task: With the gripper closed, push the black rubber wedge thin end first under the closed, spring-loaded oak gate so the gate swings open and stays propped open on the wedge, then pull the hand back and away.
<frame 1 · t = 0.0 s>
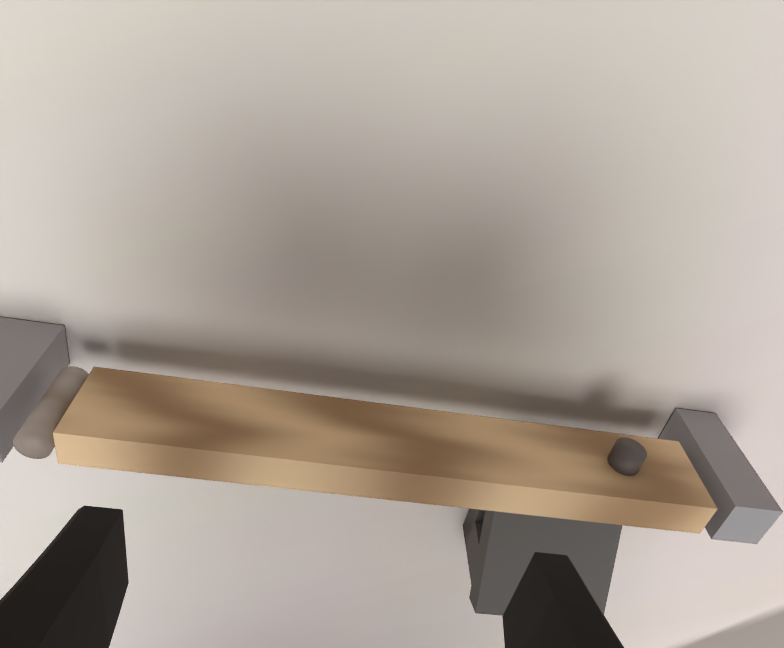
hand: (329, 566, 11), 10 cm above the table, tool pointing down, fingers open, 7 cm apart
wedge: (540, 482, 25), on the table
gate: (386, 441, 19), point 3 cm above the table, hinge at 0.0°
pair of grey posts: (332, 380, 21), on the table
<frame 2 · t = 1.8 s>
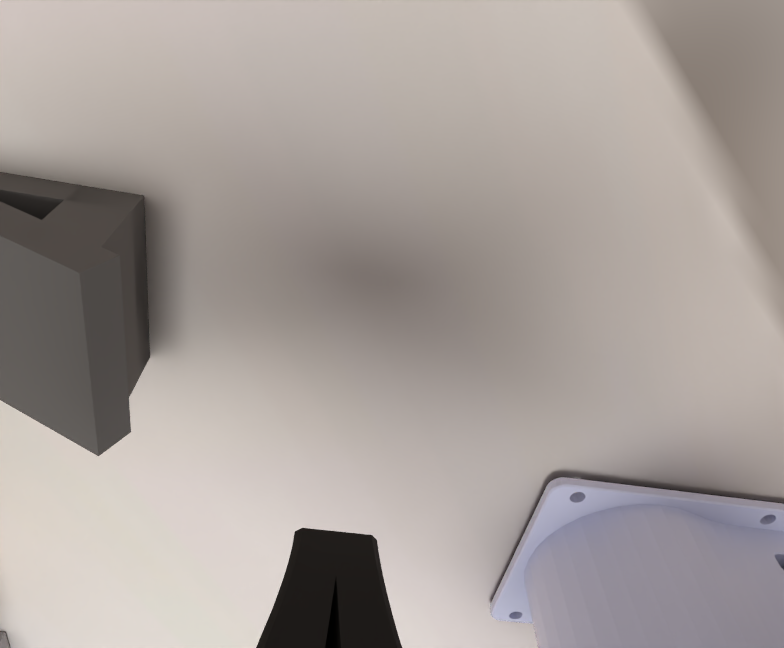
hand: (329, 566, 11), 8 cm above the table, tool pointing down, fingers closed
wedge: (30, 263, 16), on the table
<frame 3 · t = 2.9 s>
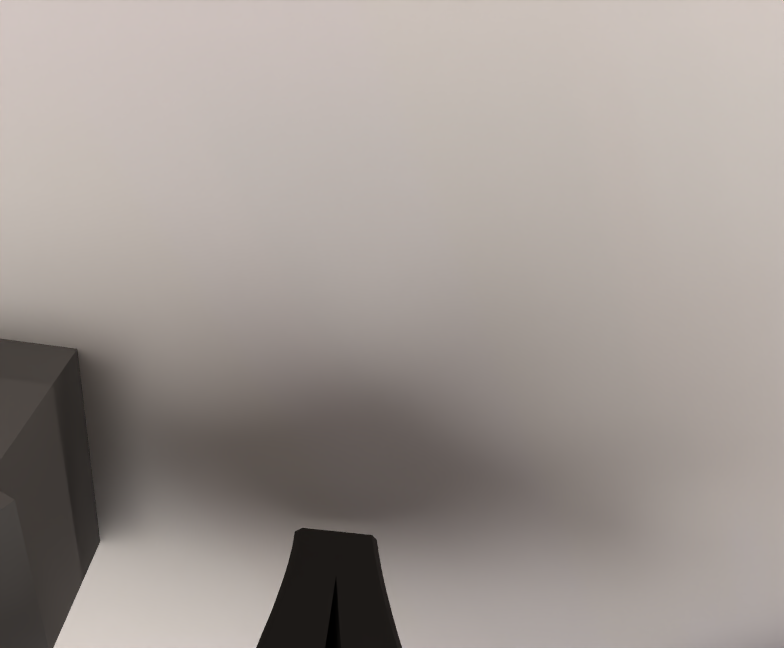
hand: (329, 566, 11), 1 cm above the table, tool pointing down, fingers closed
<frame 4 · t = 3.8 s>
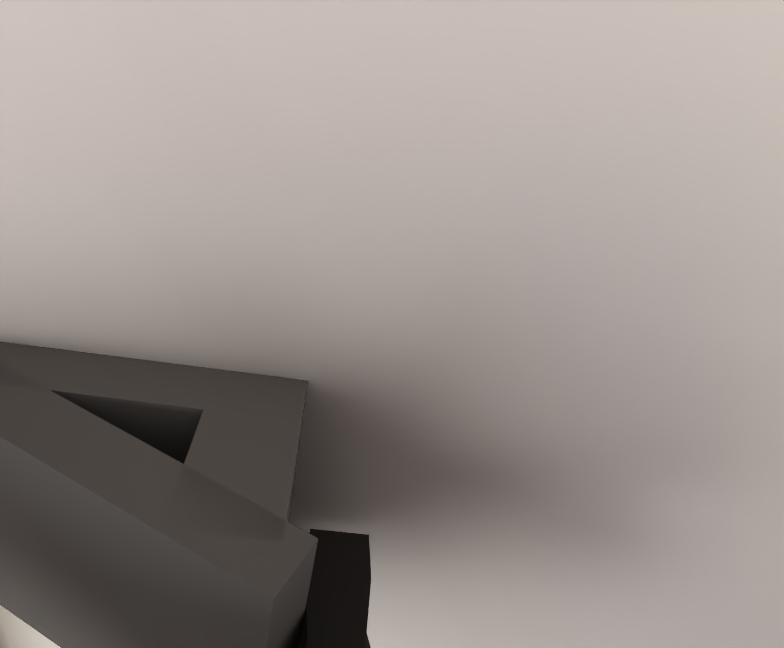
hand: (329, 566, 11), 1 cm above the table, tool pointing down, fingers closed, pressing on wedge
wedge: (132, 462, 11), on the table, touching gripper
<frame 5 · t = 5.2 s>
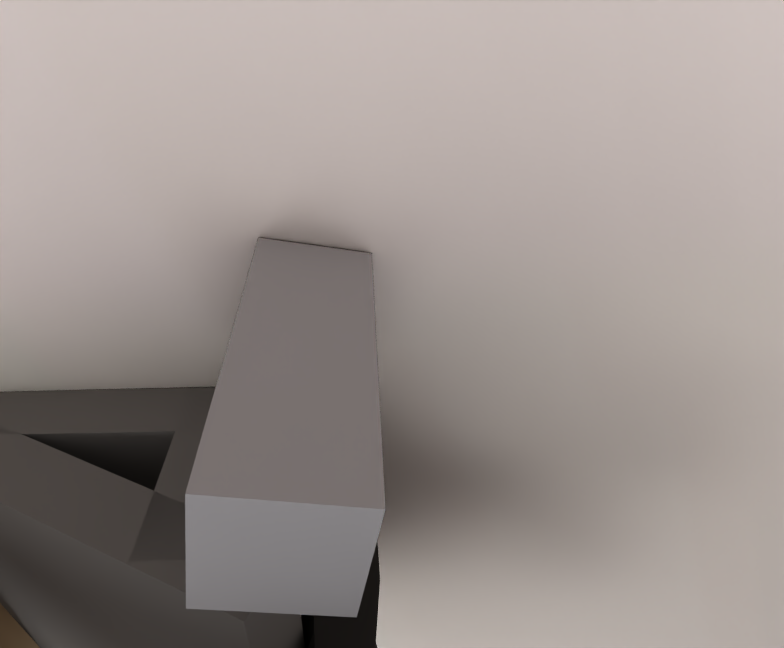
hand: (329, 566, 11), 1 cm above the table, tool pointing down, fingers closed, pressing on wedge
wedge: (132, 492, 11), on the table, touching gate, gripper
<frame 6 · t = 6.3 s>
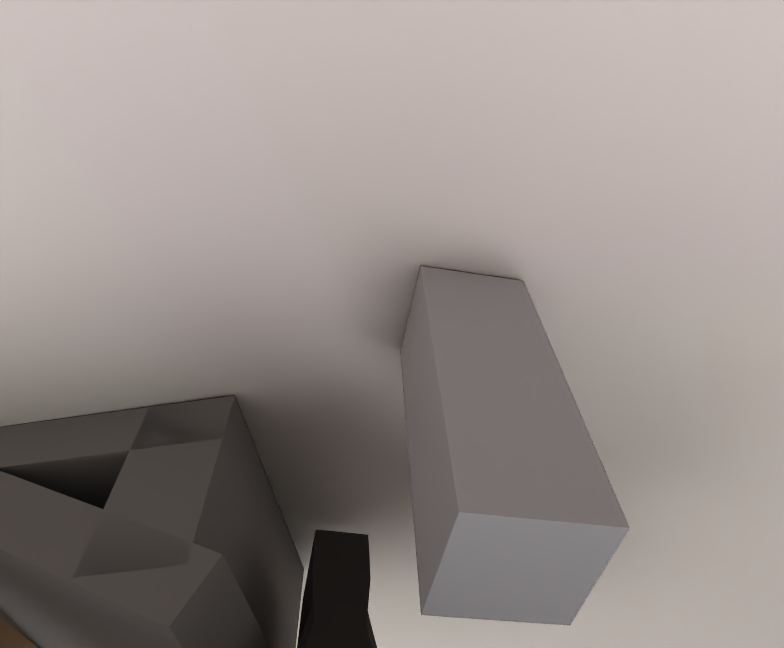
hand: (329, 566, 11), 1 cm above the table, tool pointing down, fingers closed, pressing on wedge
wedge: (123, 511, 12), on the table, touching gate, gripper
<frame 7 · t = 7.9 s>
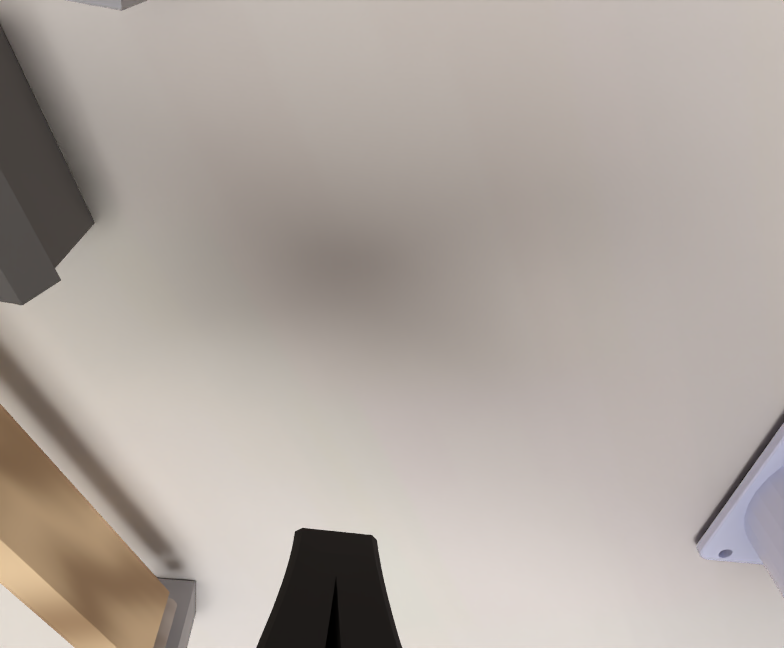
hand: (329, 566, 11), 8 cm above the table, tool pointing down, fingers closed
pair of grey posts: (169, 416, 20), on the table
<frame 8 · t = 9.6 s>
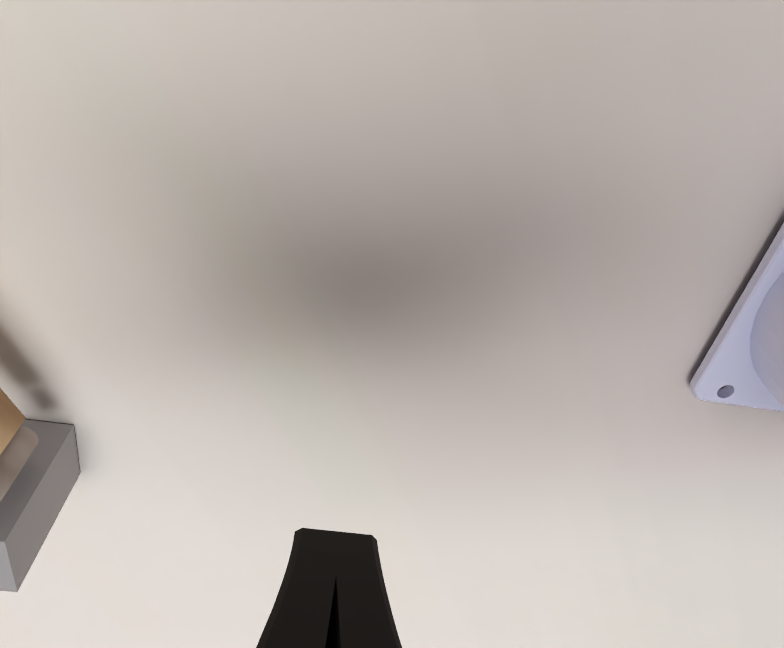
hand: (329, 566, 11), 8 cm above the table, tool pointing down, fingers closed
pair of grey posts: (5, 159, 15), on the table
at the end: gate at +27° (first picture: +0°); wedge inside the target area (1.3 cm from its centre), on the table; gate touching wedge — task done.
